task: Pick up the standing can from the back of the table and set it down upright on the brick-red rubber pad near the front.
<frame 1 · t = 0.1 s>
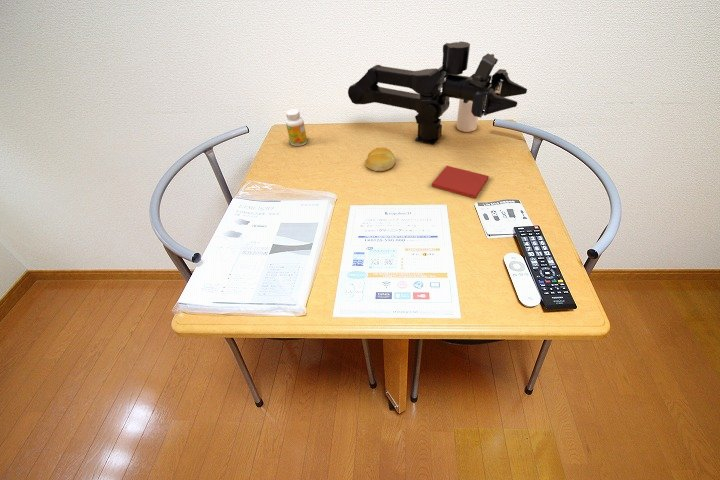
hand: (521, 97, 93), 17 cm above the table, tool horizontal, fingers open, 9 cm apart
bread roll: (380, 164, 105), on the table
pad: (460, 182, 96), on the table
can: (466, 128, 119), on the table
supplement bottle: (299, 143, 116), on the table
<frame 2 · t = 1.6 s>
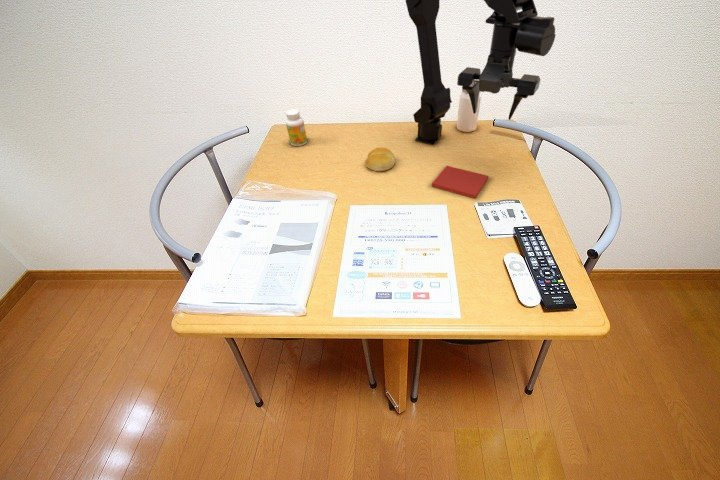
hand: (491, 116, 94), 13 cm above the table, tool pointing down, fingers open, 9 cm apart
nothing on the table moved.
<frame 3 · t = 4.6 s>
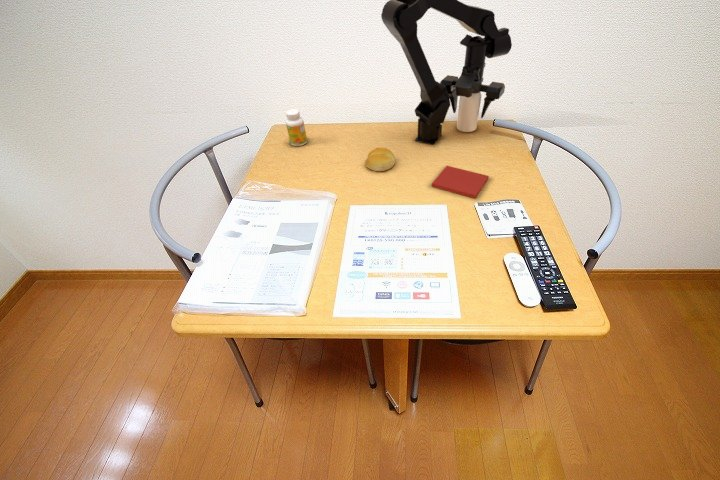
hand: (468, 115, 115), 4 cm above the table, tool pointing down
can: (466, 129, 119), on the table, touching gripper
everything else where it was.
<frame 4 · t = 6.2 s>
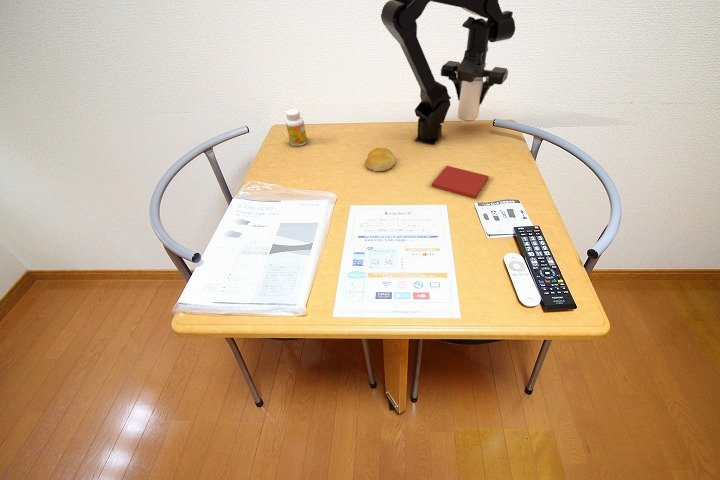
hand: (469, 102, 113), 8 cm above the table, tool pointing down, fingers closed on can, 6 cm apart
can: (467, 117, 116), point 3 cm above the table, touching gripper
everything else where it was.
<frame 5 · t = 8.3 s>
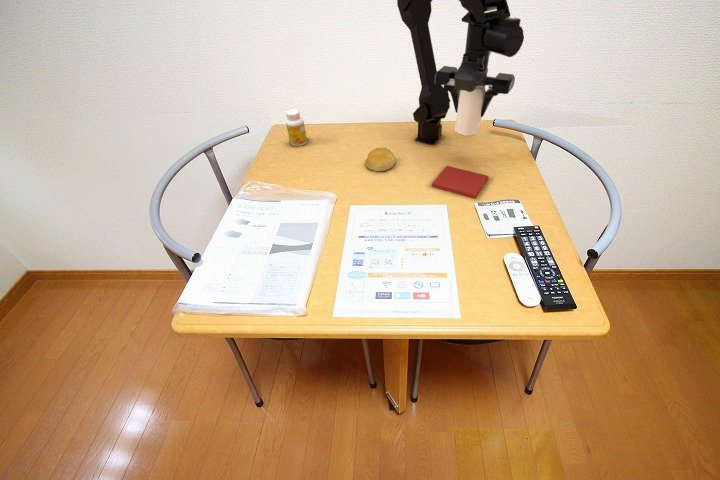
hand: (469, 114, 95), 13 cm above the table, tool pointing down, fingers closed on can, 6 cm apart
can: (466, 132, 99), point 8 cm above the table, touching gripper
everything else where it was.
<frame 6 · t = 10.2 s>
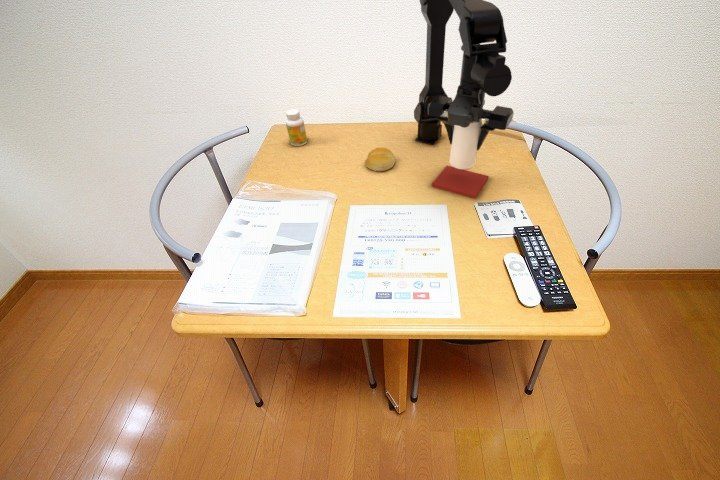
hand: (464, 146, 89), 10 cm above the table, tool pointing down, fingers closed on can, 6 cm apart
can: (461, 164, 93), point 5 cm above the table, touching gripper
everything else where it was.
when the fingers open (6 cm above the table, at t = 11.9 s): can stays where it is, resting on pad.
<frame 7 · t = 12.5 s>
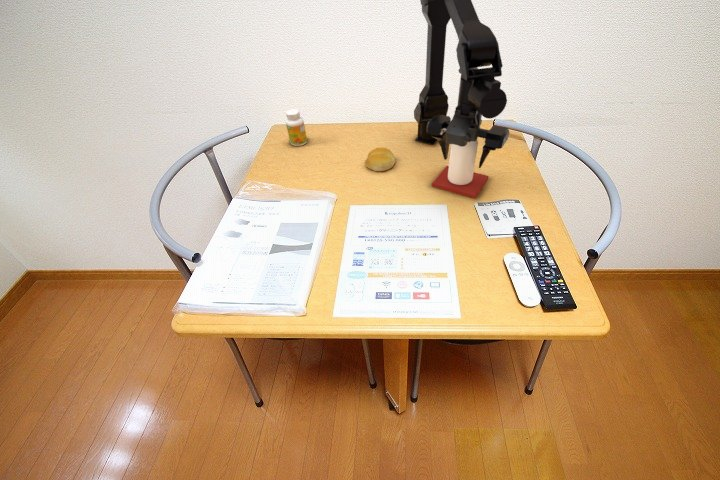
hand: (462, 163, 92), 6 cm above the table, tool pointing down, fingers open, 9 cm apart
can: (459, 179, 96), point 1 cm above the table, touching pad
everything else where it was.
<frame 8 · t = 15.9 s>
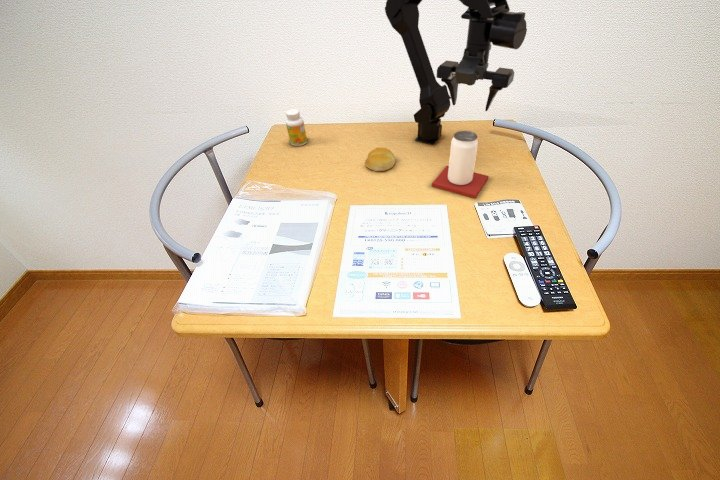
hand: (470, 107, 98), 13 cm above the table, tool pointing down, fingers open, 9 cm apart
nothing on the table moved.
at the end: can inside the target area on the pad (0.2 cm from its centre), point 0.8 cm above the pad's base; can tilted 0°; the gripper is holding nothing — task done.
